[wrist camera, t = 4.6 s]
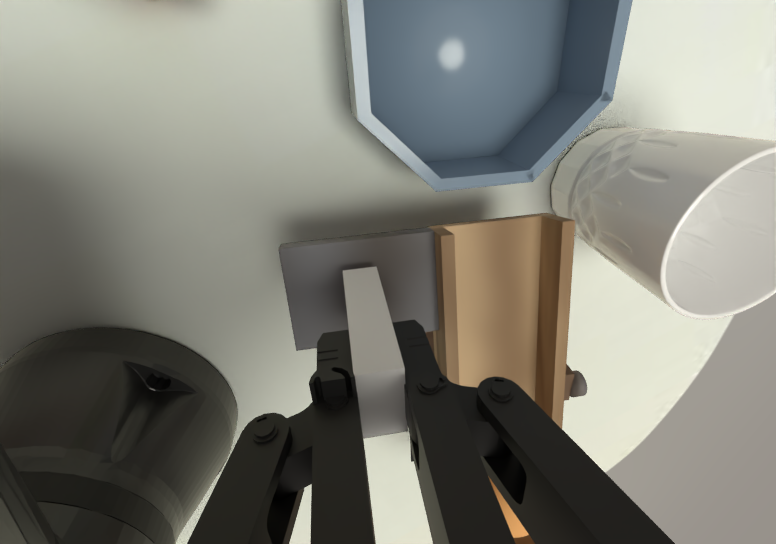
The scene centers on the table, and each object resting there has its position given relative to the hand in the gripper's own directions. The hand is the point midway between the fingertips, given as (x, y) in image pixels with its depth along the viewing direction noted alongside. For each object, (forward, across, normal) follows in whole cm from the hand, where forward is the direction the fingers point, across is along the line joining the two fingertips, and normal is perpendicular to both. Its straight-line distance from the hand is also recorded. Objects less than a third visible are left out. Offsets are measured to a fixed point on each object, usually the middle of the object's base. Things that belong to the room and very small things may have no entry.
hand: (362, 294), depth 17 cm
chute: (+2, +3, -9) cm, 10 cm away
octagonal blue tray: (+7, +7, +10) cm, 14 cm away
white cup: (+8, +16, +2) cm, 18 cm away
